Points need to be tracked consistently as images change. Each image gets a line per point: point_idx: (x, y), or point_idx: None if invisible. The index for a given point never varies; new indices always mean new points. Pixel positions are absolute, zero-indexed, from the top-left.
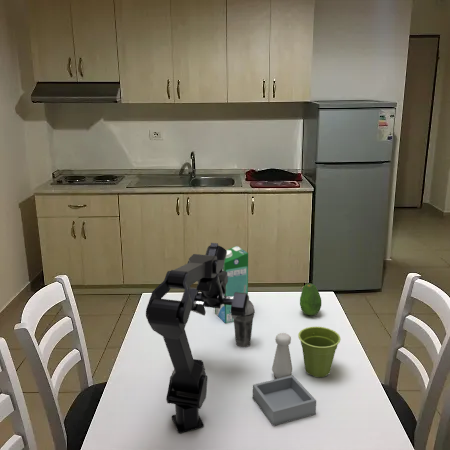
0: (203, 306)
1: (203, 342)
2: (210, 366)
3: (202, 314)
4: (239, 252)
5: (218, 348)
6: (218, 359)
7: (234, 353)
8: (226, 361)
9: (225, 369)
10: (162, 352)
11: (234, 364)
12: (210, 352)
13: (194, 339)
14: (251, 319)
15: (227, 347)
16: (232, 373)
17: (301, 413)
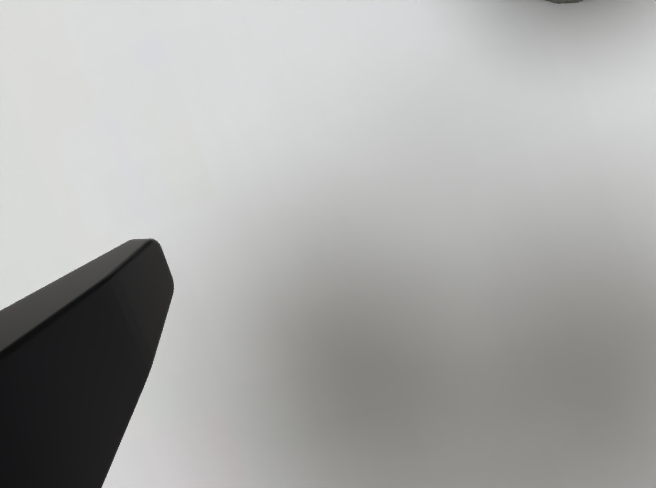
0: (30, 352)
1: (251, 42)
2: (410, 351)
3: (130, 396)
4: None
5: (389, 87)
6: (439, 241)
7: (539, 117)
8: (509, 251)
9: (536, 363)
10: (39, 265)
11: (587, 276)
12: (348, 163)
13: (174, 24)
14: None
15: (454, 47)
16: (608, 404)
17: None
